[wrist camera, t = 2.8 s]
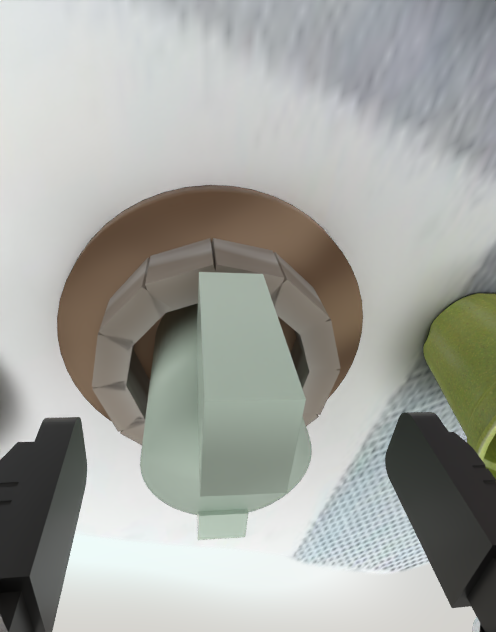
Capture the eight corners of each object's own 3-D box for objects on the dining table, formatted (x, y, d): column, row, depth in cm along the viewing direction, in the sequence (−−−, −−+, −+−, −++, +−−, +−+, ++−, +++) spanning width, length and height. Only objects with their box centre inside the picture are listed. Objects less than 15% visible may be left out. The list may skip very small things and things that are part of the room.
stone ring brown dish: (409, 318, 25) (445, 361, 22) (221, 468, 30) (225, 524, 26) (204, 105, 18) (208, 117, 15) (1, 344, 23) (-33, 397, 19)
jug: (266, 404, 26) (314, 618, 16) (156, 406, 25) (135, 634, 15) (290, 234, 20) (385, 398, 11) (152, 228, 19) (114, 401, 10)
